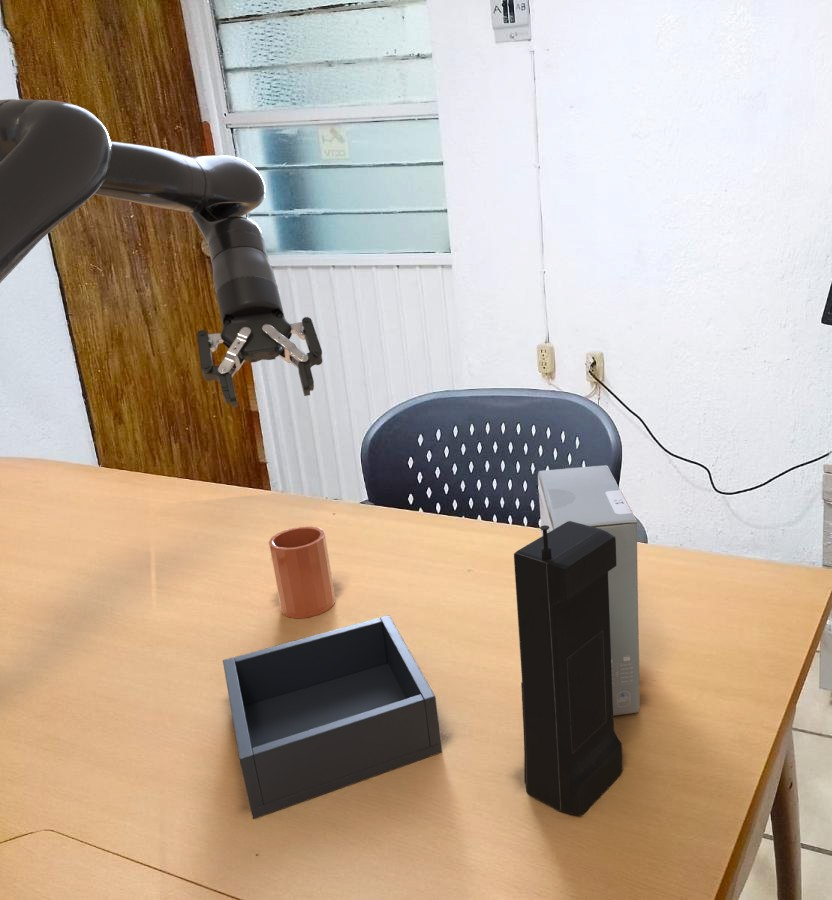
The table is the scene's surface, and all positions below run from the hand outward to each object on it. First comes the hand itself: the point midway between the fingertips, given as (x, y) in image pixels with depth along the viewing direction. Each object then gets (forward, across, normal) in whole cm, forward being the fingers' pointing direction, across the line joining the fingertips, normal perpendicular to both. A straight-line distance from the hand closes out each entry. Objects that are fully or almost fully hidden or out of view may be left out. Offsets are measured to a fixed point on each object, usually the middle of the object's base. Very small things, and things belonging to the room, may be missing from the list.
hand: (271, 398), depth 103 cm
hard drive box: (+45, +24, -13) cm, 53 cm away
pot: (+25, -1, +7) cm, 26 cm away
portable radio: (+54, +16, -23) cm, 61 cm away
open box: (+43, -2, -12) cm, 44 cm away
